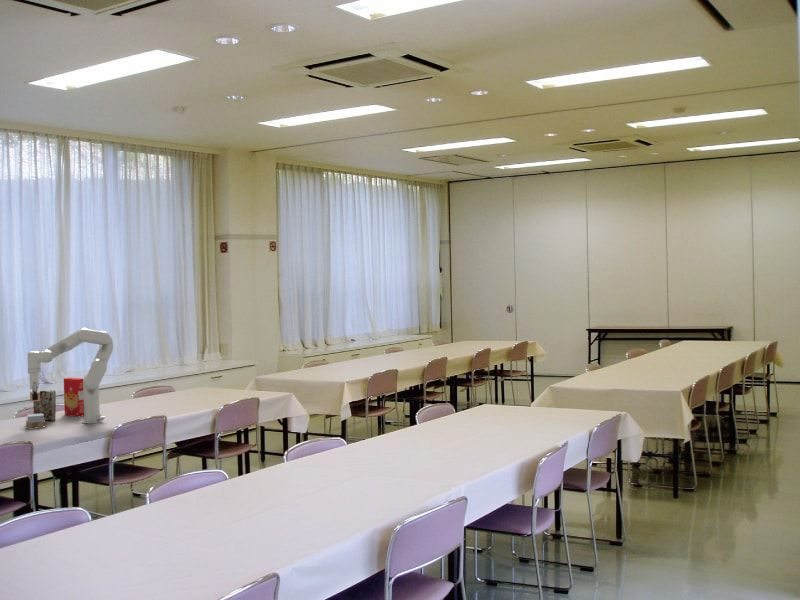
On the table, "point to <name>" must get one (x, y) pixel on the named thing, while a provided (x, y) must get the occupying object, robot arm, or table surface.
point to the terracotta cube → (31, 396)
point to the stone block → (46, 404)
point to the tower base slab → (35, 424)
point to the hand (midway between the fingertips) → (34, 399)
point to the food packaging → (73, 396)
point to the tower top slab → (35, 418)
